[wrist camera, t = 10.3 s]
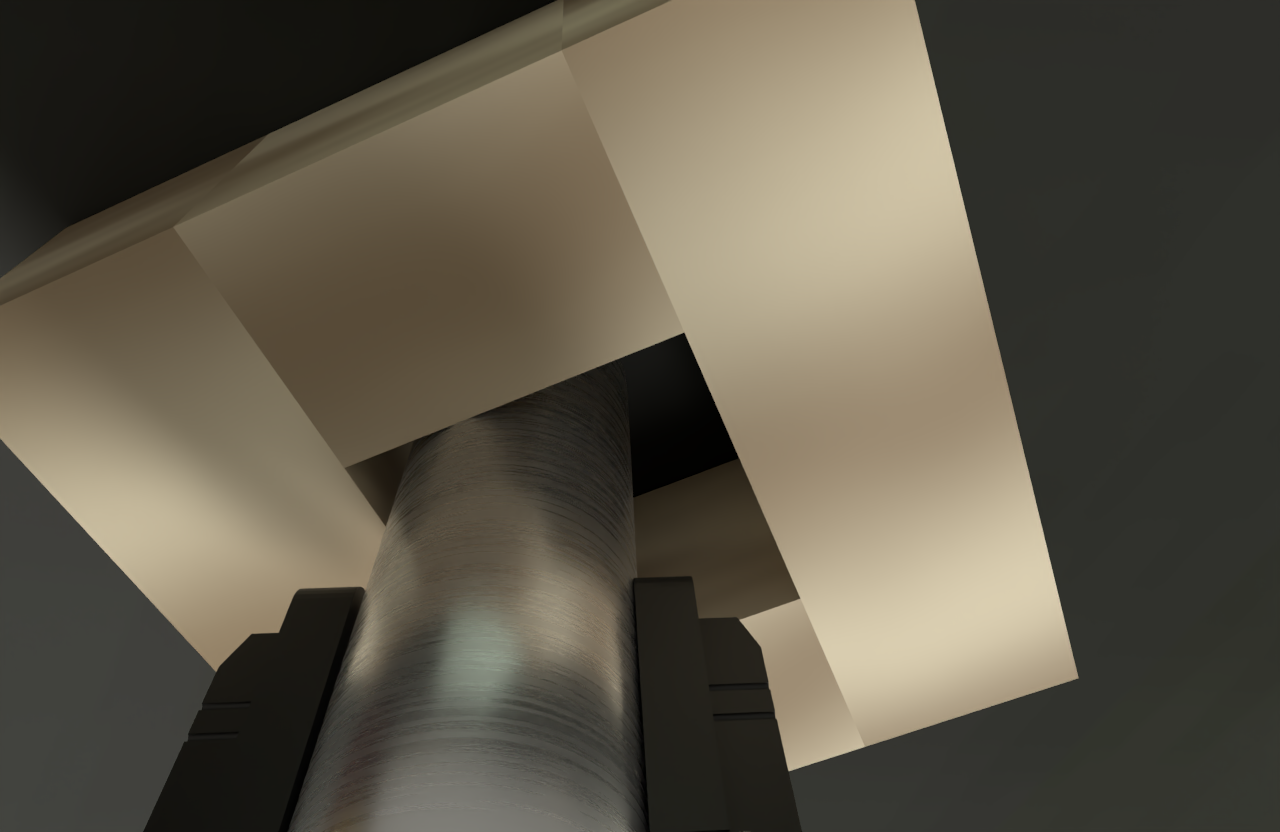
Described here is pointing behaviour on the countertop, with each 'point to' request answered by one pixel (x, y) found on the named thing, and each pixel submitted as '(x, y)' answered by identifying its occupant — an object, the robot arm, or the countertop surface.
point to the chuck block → (574, 343)
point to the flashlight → (497, 634)
